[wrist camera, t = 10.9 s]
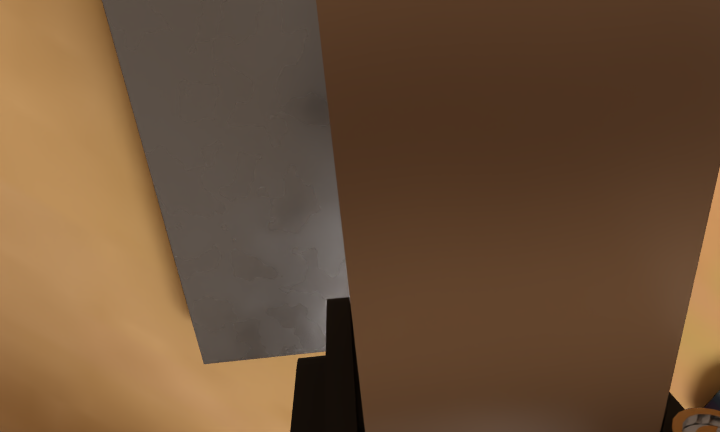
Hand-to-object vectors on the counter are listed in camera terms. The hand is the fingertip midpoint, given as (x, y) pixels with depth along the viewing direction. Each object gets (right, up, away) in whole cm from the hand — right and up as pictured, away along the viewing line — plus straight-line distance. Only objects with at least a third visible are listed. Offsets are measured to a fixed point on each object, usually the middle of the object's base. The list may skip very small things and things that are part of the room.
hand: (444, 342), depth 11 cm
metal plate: (-7, +6, +14) cm, 17 cm away
